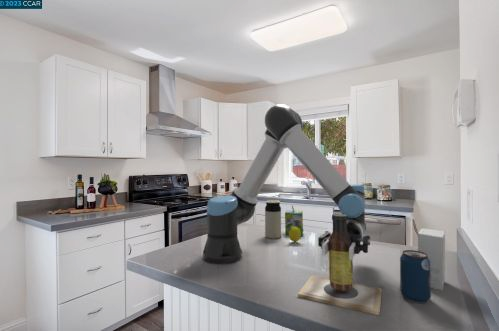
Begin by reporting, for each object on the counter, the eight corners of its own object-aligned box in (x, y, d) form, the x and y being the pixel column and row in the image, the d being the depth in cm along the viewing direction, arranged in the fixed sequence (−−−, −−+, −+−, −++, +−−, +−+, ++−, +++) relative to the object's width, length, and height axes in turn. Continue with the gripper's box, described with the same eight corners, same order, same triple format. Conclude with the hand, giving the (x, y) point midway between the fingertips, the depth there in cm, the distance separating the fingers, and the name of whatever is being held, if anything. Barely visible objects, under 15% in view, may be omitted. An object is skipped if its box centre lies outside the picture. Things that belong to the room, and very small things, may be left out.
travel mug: (276, 239, 131) (276, 202, 131) (262, 237, 136) (262, 201, 136) (283, 236, 138) (283, 200, 138) (269, 234, 142) (269, 199, 142)
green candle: (303, 236, 139) (302, 207, 139) (284, 235, 140) (284, 206, 140) (303, 231, 148) (303, 204, 148) (286, 231, 149) (286, 204, 150)
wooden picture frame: (297, 296, 74) (297, 292, 74) (311, 278, 86) (311, 274, 86) (379, 315, 64) (379, 311, 64) (381, 291, 76) (381, 288, 76)
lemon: (285, 243, 126) (285, 221, 126) (290, 240, 131) (290, 219, 131) (298, 245, 122) (298, 223, 122) (303, 242, 127) (303, 220, 127)
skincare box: (420, 276, 87) (420, 227, 87) (446, 281, 83) (446, 230, 83) (416, 285, 81) (416, 232, 81) (444, 291, 76) (443, 236, 77)
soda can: (437, 304, 70) (437, 257, 70) (411, 305, 69) (411, 257, 69) (418, 291, 76) (417, 248, 76) (394, 292, 76) (394, 249, 76)
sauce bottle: (357, 291, 72) (357, 216, 72) (335, 293, 71) (335, 217, 71) (345, 281, 79) (345, 212, 79) (324, 282, 78) (324, 213, 78)
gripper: (381, 248, 86) (377, 273, 66) (321, 240, 95) (301, 260, 75) (381, 224, 86) (377, 242, 66) (321, 219, 96) (301, 233, 75)
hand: (336, 252), depth 71 cm, fingers closed on sauce bottle, 6 cm apart
